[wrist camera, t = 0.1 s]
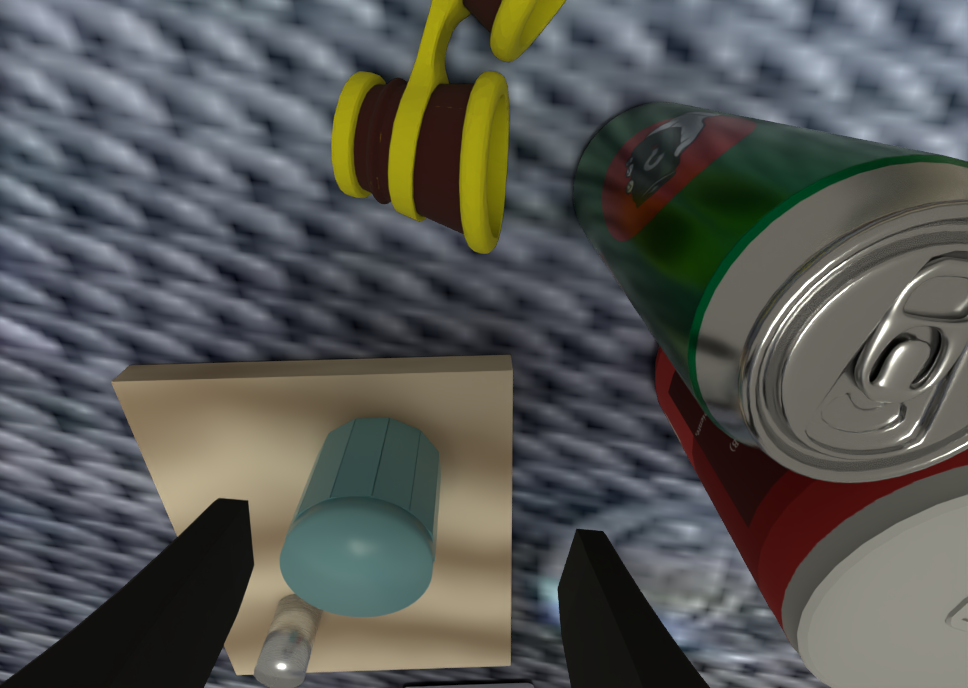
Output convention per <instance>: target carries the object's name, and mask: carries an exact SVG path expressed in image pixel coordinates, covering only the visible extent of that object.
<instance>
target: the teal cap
mask: <svg viewBox="0 0 968 688" xmlns="http://www.w3.org/2000/svg"><path fill="white" fill-rule="evenodd" d="M440 485H441V469H440V456H439V451H438V450H437V449H436V448H435V447H434V445H433V444H432V443H431V442H430V441H429V439H428V438H427V437H426V436H425V435H424V434H423V432H422V431H420V430H419V429H417V428H414V427H412V426H409V425H407V424H405V423H402V422H400V421H397V420H395V419H392V418H390V419H389V417H387V418H356V419H354V420H352V421H350V422H348V423H346V424H344V425H342V426H341V427H339V428H337V429H335V430H333V431H331V432H329V434H328V435H327V437H326V439H325V441H324V443H323V445H322V447H321V449H320V451H319V453H318V455H317V457H316V460H315V462H314V465H313V468H312V470H311V473H310V475H309V478H308V480H307V483H306V485H305V488H304V491H303V493H302V496H301V498H300V501H299V503H298V506H297V508H296V511H295V513H294V516H293V519H292V521H291V524H290V526H289V529H288V531H287V534H286V536H285V543H284V545H283V548H282V551H281V554H280V570H281V573H282V576H283V578H284V580H285V582H286V583H287V585H288V586H289V587H290V589H291V590H292V591H293V592H294V593H295V594H296V595H297V596H299V597H300V598H301V599H303V600H304V601H305V602H307V603H309V604H311V605H312V606H314V607H317V608H319V609H321V610H324V611H327V612H330V613H334V614H337V615H343V616H349V617H376V616H382V615H387V614H391V613H394V612H397V611H400V610H402V609H404V608H406V607H408V606H410V605H411V604H413V603H414V602H416V601H417V600H418V599H419V598H420V597H421V596H422V595H423V594H424V593H425V591H426V590H427V588H428V587H429V584H430V582H431V578H432V572H433V563H434V562H435V554H436V540H437V527H438V513H439V499H440Z"/></svg>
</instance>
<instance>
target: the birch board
mask: <svg viewBox="0 0 968 688" xmlns="http://www.w3.org/2000/svg"><path fill="white" fill-rule="evenodd" d="M111 383H112V385H113V388H114V390H115V392H116V395H117V397H118V399H119V402H120V404H121V406H122V409H123V411H124V413H125V416H126V418H127V420H128V423H129V425H130V427H131V430H132V432H133V434H134V437H135V439H136V441H137V444H138V446H139V448H140V451H141V453H142V455H143V458H144V460H145V462H146V465H147V467H148V469H149V472H150V474H151V476H152V479H153V481H154V483H155V486H156V488H157V490H158V493H159V495H160V497H161V500H162V502H163V504H164V507H165V509H166V511H167V514H168V516H169V518H170V521H171V523H172V525H173V528H174V530H175V532H176V535H177V537H178V536H179V535H180V534H181V533H182V532H183V531H184V530H185V529H186V528H187V527H188V526H189V525H190V524H191V523H192V522H193V521H194V520H195V519H196V518H197V517H198V516H199V515H201V514H202V513H203V512H204V511H205V510H206V509H207V508H208V507H209V506H210V505H211V504H212V503H213V502H214V501H215V500H217V499H218V498H227V499H238V500H248V503H249V514H250V524H251V535H252V545H253V556H254V568H253V571H252V574H251V577H250V580H249V583H248V586H247V589H246V592H245V595H244V598H243V601H242V604H241V606H240V609H239V612H238V615H237V617H236V619H235V621H234V624H233V626H232V628H231V630H230V632H229V635H228V637H227V639H226V641H225V643H224V646H225V649H226V651H227V653H228V656H229V658H230V660H231V663H232V665H233V667H234V670H235V672H236V674H237V675H250V674H254V669H255V666H256V664H257V661H258V658H259V655H260V652H261V650H262V647H263V644H264V641H265V639H266V636H267V633H268V630H269V627H270V625H271V622H272V619H273V616H274V613H275V611H276V608H277V605H278V602H279V601H280V600H281V599H282V598H283V597H285V596H287V595H291V594H295V593H294V592H293V591H292V590H291V589H290V587H289V586H288V585H287V583H286V582H285V580H284V578H283V576H282V573H281V570H280V554H281V551H282V548H283V545H284V543H285V536H286V534H287V531H288V529H289V526H290V524H291V521H292V519H293V516H294V513H295V511H296V508H297V506H298V503H299V501H300V498H301V496H302V493H303V491H304V488H305V485H306V483H307V480H308V478H309V475H310V473H311V470H312V468H313V465H314V462H315V460H316V457H317V455H318V453H319V451H320V449H321V447H322V445H323V443H324V441H325V439H326V437H327V435H328V434H329V432H331V431H333V430H335V429H337V428H339V427H341V426H342V425H344V424H346V423H348V422H350V421H352V420H354V419H356V418H387V417H389V419H390V418H392V419H395V420H397V421H400V422H402V423H405V424H407V425H409V426H412V427H414V428H417V429H419V430H420V431H422V432H423V434H424V435H425V436H426V437H427V438H428V439H429V441H430V442H431V443H432V444H433V445H434V447H435V448H436V449H437V450H438V451H439V456H440V469H441V485H440V499H439V513H438V527H437V540H436V554H435V562H434V563H433V572H432V578H431V582H430V584H429V587H428V588H427V590H426V591H425V593H424V594H423V595H422V596H421V597H420V598H419V599H418V600H417V601H416V602H414V603H413V604H411V605H410V606H408V607H406V608H404V609H402V610H400V611H397V612H394V613H391V614H387V615H382V616H376V617H349V616H343V615H337V614H334V613H330V612H327V611H324V610H323V612H322V615H321V619H320V623H319V626H318V630H317V634H316V638H315V641H314V645H313V649H312V652H311V656H310V660H309V663H308V667H307V671H306V673H310V672H340V671H369V670H399V669H429V668H458V667H488V666H511V549H512V424H513V367H512V360H511V355H481V356H446V357H410V358H374V359H338V360H302V361H266V362H230V363H194V364H158V365H129V366H128V367H127V368H126V369H125V370H124V371H123V372H122V373H120V374H119V375H118V376H117V377H116V378H115V379H114V380H112V381H111Z"/></svg>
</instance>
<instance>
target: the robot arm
mask: <svg viewBox="0 0 968 688" xmlns="http://www.w3.org/2000/svg"><path fill="white" fill-rule="evenodd" d="M253 568H254V556H253V545H252V535H251V524H250V514H249V503H248V500H238V499H227V498H218V499H217V500H215V501H214V502H213V503H212V504H211V505H210V506H209V507H208V508H207V509H206V510H205V511H204V512H203V513H202V514H201V515H199V516H198V517H197V518H196V519H195V520H194V521H193V522H192V523H191V524H190V525H189V526H188V527H187V528H186V529H185V530H184V531H183V532H182V533H181V534H180V535H179V536H178V537H177V538H176V539H175V540H174V541H173V542H172V543H171V544H170V545H168V546H167V547H166V548H165V549H164V550H163V551H162V552H161V553H160V554H159V555H158V556H157V557H156V558H155V559H153V560H152V561H151V562H150V563H149V564H148V565H147V566H146V567H145V568H144V569H142V570H141V571H140V572H139V573H138V574H137V575H136V576H135V577H134V578H133V579H131V580H130V581H129V582H128V583H127V584H126V585H125V586H124V587H123V588H121V589H120V590H119V591H118V592H117V593H116V594H114V595H113V596H112V597H111V598H110V599H108V600H107V601H106V602H105V603H104V604H103V605H101V606H100V607H99V608H98V609H97V610H95V611H94V612H93V613H92V614H91V615H89V616H88V617H87V618H86V619H85V620H84V621H82V622H81V623H80V624H79V625H78V626H76V627H75V628H74V629H73V630H71V631H70V632H69V633H68V634H66V635H65V636H64V637H63V638H61V639H60V640H59V641H58V642H56V643H55V644H54V645H52V646H51V647H50V648H49V649H47V650H46V651H45V652H43V653H42V654H41V655H39V656H38V657H37V658H35V659H34V660H33V661H31V662H30V663H29V664H27V665H26V666H25V667H23V668H22V669H21V670H19V671H18V672H17V673H15V674H14V675H13V676H11V677H10V678H9V679H7V680H6V681H4V682H3V683H2V684H0V688H204V686H205V684H206V682H207V680H208V678H209V675H210V673H211V671H212V669H213V667H214V665H215V663H216V660H217V658H218V656H219V654H220V652H221V650H222V648H223V645H224V643H225V641H226V639H227V637H228V635H229V632H230V630H231V628H232V626H233V624H234V621H235V619H236V617H237V615H238V612H239V609H240V606H241V604H242V601H243V598H244V595H245V592H246V589H247V586H248V583H249V580H250V577H251V574H252V571H253ZM558 600H559V613H560V624H561V635H562V641H563V646H564V652H565V657H566V662H567V667H568V673H569V678H570V683H571V688H710V687H709V686H708V684H707V683H706V682H705V681H704V679H703V678H702V677H701V676H700V674H699V673H698V672H697V670H696V669H695V668H694V666H693V665H692V664H691V662H690V661H689V660H688V658H687V657H686V656H685V654H684V653H683V652H682V650H681V649H680V648H679V646H678V645H677V643H676V642H675V641H674V639H673V638H672V636H671V635H670V634H669V632H668V631H667V629H666V628H665V626H664V625H663V624H662V622H661V621H660V619H659V618H658V616H657V615H656V613H655V612H654V610H653V609H652V607H651V606H650V604H649V603H648V601H647V600H646V598H645V597H644V595H643V594H642V592H641V591H640V589H639V588H638V586H637V584H636V583H635V581H634V580H633V578H632V577H631V575H630V573H629V572H628V570H627V569H626V567H625V565H624V564H623V562H622V561H621V559H620V557H619V556H618V554H617V552H616V551H615V549H614V547H613V546H612V544H611V542H610V541H609V539H608V537H607V536H606V534H605V533H604V532H603V531H596V530H584V529H576V532H575V535H574V539H573V542H572V545H571V548H570V551H569V554H568V557H567V561H566V564H565V567H564V570H563V573H562V576H561V579H560V583H559V586H558ZM405 688H534V686H533V685H532V684H530V683H503V684H474V685H444V686H415V687H405Z"/></svg>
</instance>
